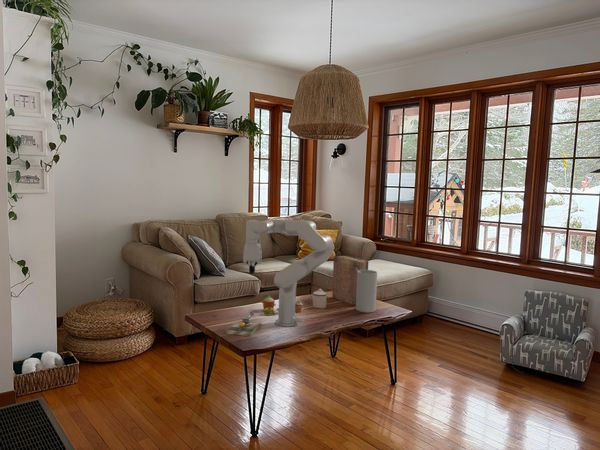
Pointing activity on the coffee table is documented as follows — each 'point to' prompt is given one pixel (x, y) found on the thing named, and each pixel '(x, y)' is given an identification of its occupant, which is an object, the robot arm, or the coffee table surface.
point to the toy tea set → (269, 305)
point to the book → (346, 277)
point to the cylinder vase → (366, 291)
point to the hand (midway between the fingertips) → (251, 272)
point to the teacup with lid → (319, 299)
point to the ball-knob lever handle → (246, 320)
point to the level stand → (243, 329)
